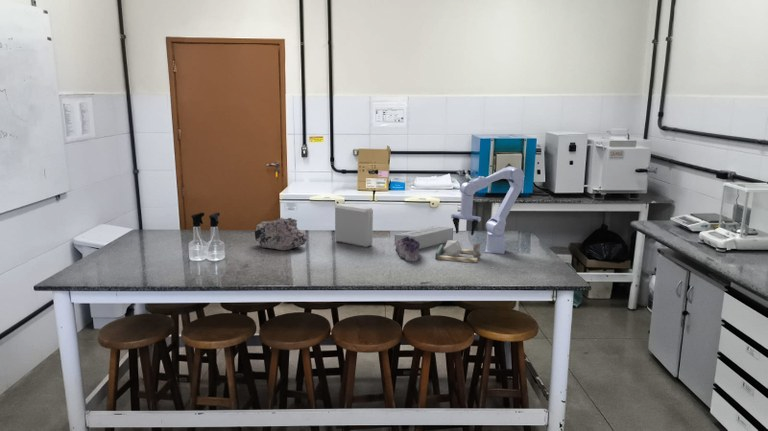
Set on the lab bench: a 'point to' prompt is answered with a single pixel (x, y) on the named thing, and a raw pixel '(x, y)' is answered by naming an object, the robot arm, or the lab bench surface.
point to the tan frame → (475, 252)
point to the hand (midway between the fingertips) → (464, 233)
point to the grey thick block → (353, 225)
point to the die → (452, 248)
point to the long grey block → (428, 236)
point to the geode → (408, 249)
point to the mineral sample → (279, 234)
